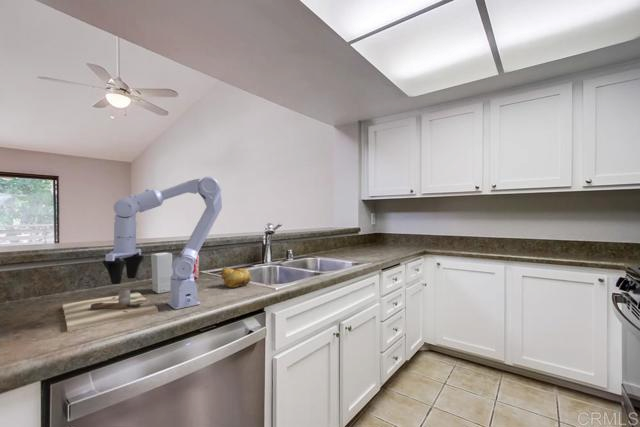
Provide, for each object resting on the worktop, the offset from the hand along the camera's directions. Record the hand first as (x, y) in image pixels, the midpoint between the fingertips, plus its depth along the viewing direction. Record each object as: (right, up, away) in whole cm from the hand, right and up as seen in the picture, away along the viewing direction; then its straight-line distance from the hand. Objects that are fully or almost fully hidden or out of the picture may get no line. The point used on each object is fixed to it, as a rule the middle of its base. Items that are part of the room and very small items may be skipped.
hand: (124, 280), depth 90 cm
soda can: (+2, -10, +41) cm, 42 cm away
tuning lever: (-2, -8, 0) cm, 8 cm away
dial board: (-6, -10, +1) cm, 11 cm away
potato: (+26, -10, +33) cm, 44 cm away
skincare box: (-2, -10, +25) cm, 26 cm away
